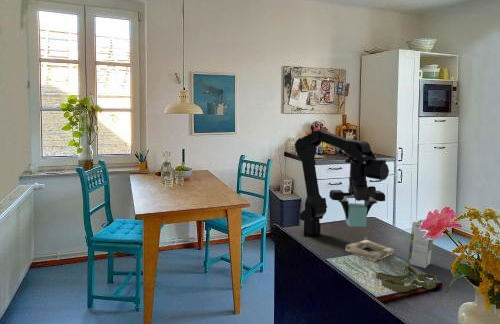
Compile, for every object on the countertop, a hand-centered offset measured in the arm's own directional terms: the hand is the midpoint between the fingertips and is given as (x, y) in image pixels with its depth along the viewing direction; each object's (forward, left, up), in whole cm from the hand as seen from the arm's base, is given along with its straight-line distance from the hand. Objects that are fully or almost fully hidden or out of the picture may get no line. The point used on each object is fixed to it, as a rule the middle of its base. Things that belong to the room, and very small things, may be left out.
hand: (355, 218), depth 136 cm
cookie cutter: (+9, -26, -12) cm, 30 cm away
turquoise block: (0, 0, -2) cm, 2 cm away
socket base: (+5, -3, -11) cm, 13 cm away
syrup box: (+19, -12, -12) cm, 25 cm away
